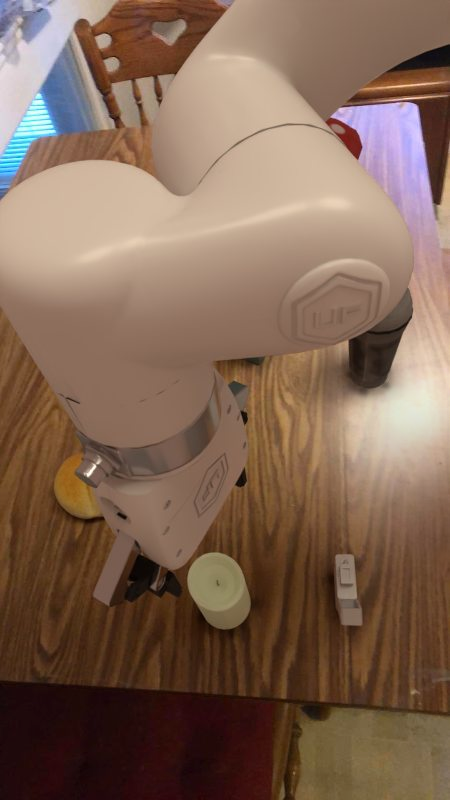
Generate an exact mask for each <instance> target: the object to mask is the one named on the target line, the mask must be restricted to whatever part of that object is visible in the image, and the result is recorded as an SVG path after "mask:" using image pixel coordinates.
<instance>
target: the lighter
mask: <svg viewBox="0 0 450 800" xmlns="http://www.w3.org/2000/svg"><path fill="white" fill-rule="evenodd" d="M355 563H356V562H355V556H354V555H353V554H352V553H351V554H350V553H349V554H346V553H345V554H343V553H342V554H341V553H340V554H339V553H336V555H335V556H334V564H333V584H334V600H335V601H334V603H335V610H336V611H337V613H338V618H339V621H340V625H341V626H363V607H362V606H361V603H360V601H359V600H358V591H357V578H356V576H357V575H356V564H355Z"/></svg>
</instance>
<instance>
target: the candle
mask: <svg viewBox="0 0 450 800" xmlns="http://www.w3.org/2000/svg"><path fill="white" fill-rule="evenodd" d="M190 565H191V566H190V568H189V569H188V573H187V578H186V580H187V589H188V592H189V594H190V596H191V598H192V599H193V601H194V603H195V604H196V606H197V608H198V609H199V611H200V612H201V614H202V615H203V617H204V619H205V620H206V621H205V622H207V623H208V624H209V625H211V626H212V627H213V628H215V629H220V630H232V629H234V628H237V627H238V626H239V625H242V623H244V622H245V620H246V619H247V618H248V615H249V614H250V611H251V605H252V602H251V596H250V592H249V590H248V586H247V583H246V580H245V575H244V574H243V573H244V572H243V570H242V568H241V566H240V565H239V563H237V561H236V560H235V559H233V558H232V557H231V556H229V555H227V554H225V553H221V552H208V553H204V554H202V555H200V556H199V557H197V558H196V559H195V560H194V562H192V563H191V564H190Z"/></svg>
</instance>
